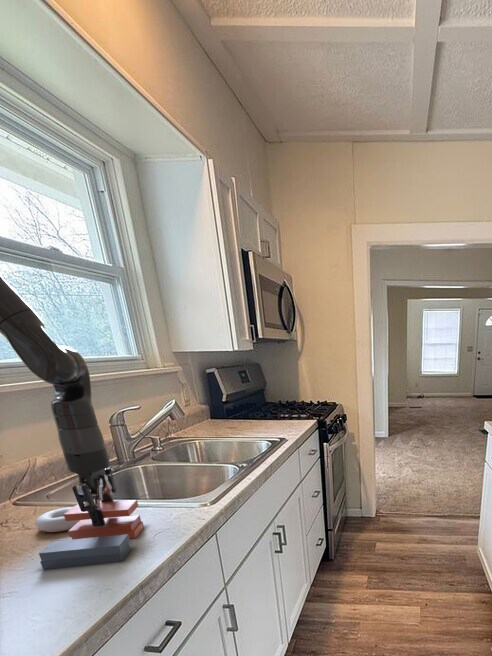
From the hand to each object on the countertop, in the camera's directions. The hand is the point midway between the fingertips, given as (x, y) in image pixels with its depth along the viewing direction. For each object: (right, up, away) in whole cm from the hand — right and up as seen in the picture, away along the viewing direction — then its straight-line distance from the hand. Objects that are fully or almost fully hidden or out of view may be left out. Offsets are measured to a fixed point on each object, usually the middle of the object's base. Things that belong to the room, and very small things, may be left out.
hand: (105, 519), depth 91 cm
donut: (-15, -2, +7) cm, 16 cm away
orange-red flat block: (0, -4, +2) cm, 4 cm away
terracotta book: (0, +1, -1) cm, 1 cm away
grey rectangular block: (+3, -8, -9) cm, 12 cm away
